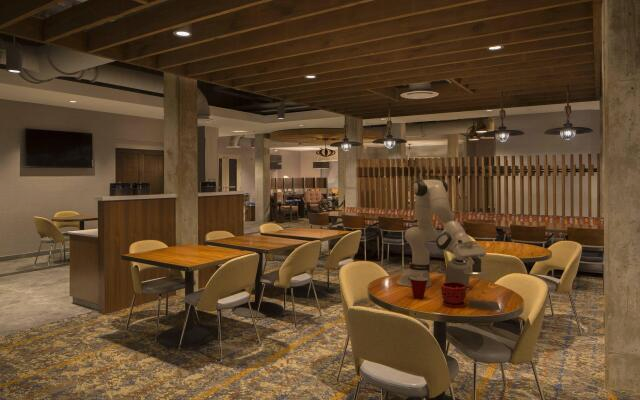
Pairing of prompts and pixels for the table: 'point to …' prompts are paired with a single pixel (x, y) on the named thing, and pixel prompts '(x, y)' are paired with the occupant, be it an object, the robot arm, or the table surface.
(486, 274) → the lid
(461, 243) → the robot arm
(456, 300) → the plant pot
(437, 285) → the table surface
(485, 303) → the mat
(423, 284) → the plastic cup
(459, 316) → the table surface
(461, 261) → the jar
